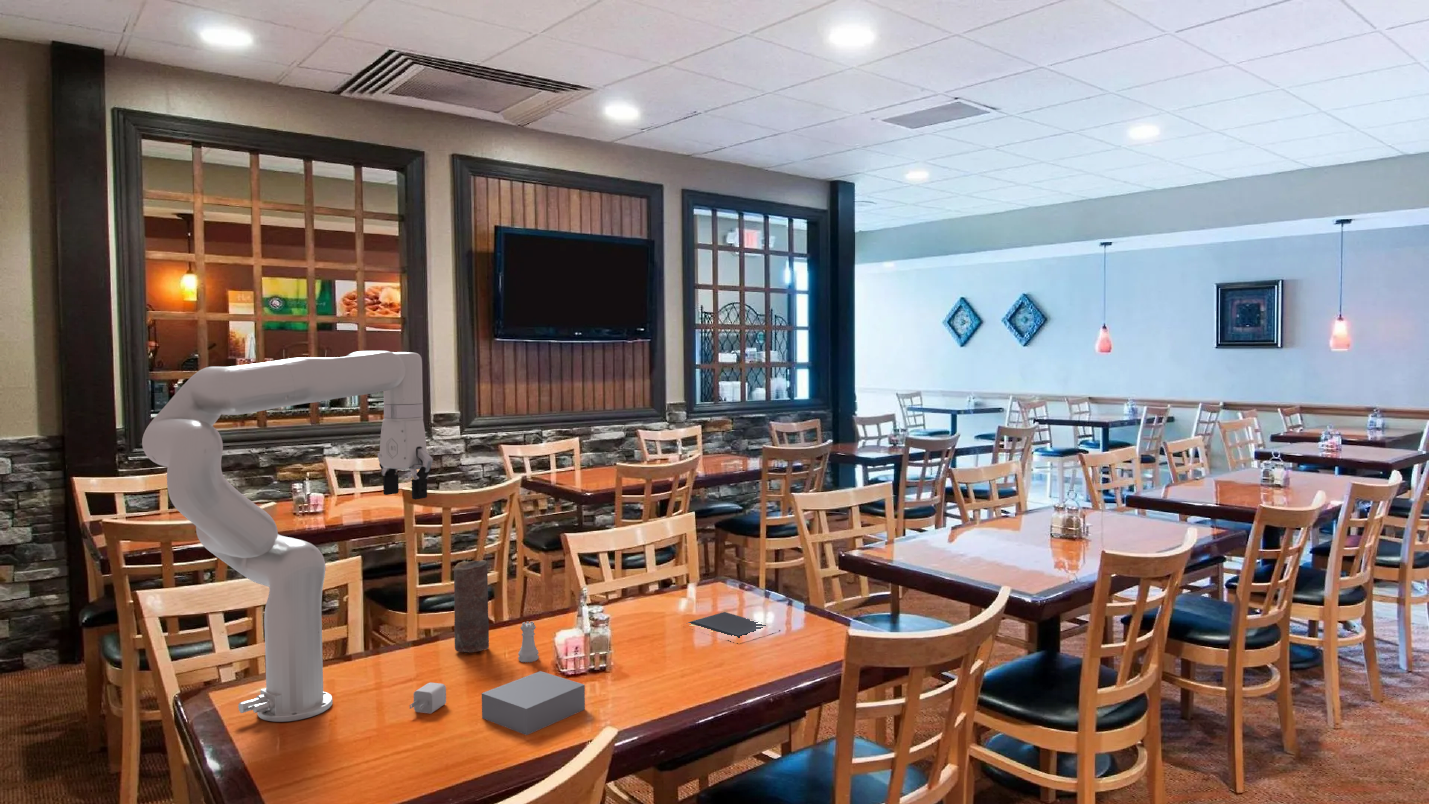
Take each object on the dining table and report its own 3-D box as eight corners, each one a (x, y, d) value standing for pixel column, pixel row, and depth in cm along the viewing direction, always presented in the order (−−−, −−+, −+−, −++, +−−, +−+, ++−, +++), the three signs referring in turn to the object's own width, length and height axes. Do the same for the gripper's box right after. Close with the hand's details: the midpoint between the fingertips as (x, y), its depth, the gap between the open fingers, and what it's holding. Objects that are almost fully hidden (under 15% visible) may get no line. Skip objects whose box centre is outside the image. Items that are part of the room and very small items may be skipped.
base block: (526, 737, 153) (526, 708, 153) (482, 720, 161) (481, 693, 160) (584, 711, 165) (584, 684, 164) (540, 696, 172) (540, 671, 172)
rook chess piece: (530, 654, 195) (529, 618, 194) (543, 659, 192) (543, 622, 192) (513, 660, 191) (513, 623, 191) (526, 664, 188) (526, 627, 188)
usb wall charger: (446, 705, 167) (445, 684, 167) (424, 719, 160) (424, 698, 160) (427, 702, 168) (427, 682, 168) (405, 717, 161) (404, 695, 161)
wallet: (782, 625, 211) (736, 639, 201) (782, 633, 211) (736, 647, 201) (725, 608, 226) (679, 620, 216) (725, 615, 226) (679, 628, 216)
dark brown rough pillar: (483, 657, 193) (482, 566, 192) (449, 657, 193) (448, 566, 192) (493, 646, 200) (491, 558, 199) (460, 645, 201) (459, 558, 200)
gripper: (362, 412, 183) (364, 494, 184) (413, 415, 173) (414, 502, 174) (394, 410, 189) (396, 490, 190) (445, 413, 179) (446, 498, 180)
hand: (405, 496), depth 182 cm, fingers open, 9 cm apart
